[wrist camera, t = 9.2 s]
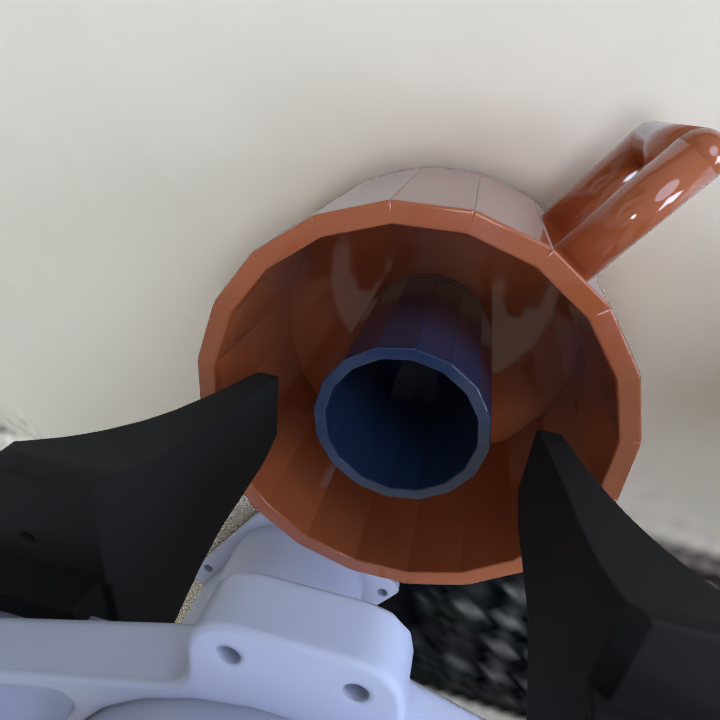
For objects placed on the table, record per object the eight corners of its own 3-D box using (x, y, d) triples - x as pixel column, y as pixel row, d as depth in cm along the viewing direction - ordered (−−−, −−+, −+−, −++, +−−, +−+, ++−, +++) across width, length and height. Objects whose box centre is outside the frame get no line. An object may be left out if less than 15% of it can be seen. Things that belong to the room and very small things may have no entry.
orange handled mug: (430, 499, 24) (409, 634, 18) (229, 325, 22) (131, 409, 16) (776, 260, 17) (937, 352, 11) (514, -28, 15) (530, -114, 9)
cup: (427, 412, 22) (403, 524, 16) (338, 333, 21) (281, 421, 15) (519, 337, 19) (531, 437, 14) (424, 245, 18) (393, 310, 13)
